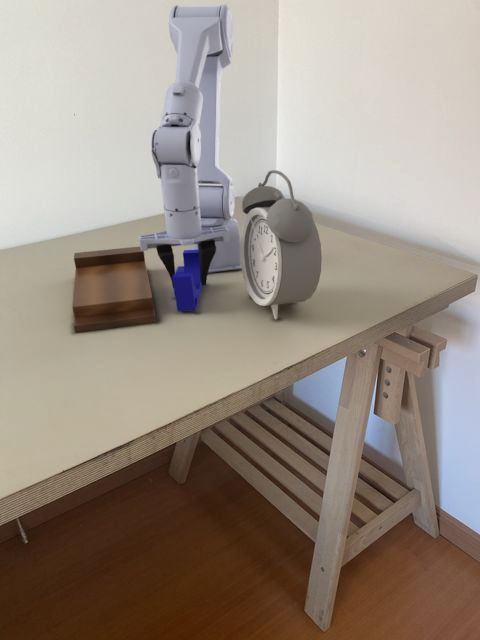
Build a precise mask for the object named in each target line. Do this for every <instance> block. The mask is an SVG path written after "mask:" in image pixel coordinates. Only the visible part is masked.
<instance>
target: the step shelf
mask: <svg viewBox="0 0 480 640" xmlns="http://www.w3.org/2000/svg"><path fill="white" fill-rule="evenodd" d="M73 261H74V267H75V273H74V284H73V294H72V295H73V296H72V314H73V328H74V333H82V332H90V331H97V330H105V329H111V328H112V329H113V328H120V327H128V326H129V327H130V326H135V325H143V324H152V323H157V317H156V312H155V306H154V299H153V293H152V287H151V283H150V279H149V274H148V269H147V264H146V259H145V251H141V247H140V246H131V247H121V248H110V249H100V250H90V251H89V250H88V251H80V252H74V254H73Z"/></svg>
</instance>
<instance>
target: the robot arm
mask: <svg viewBox="0 0 480 640" xmlns="http://www.w3.org/2000/svg"><path fill="white" fill-rule="evenodd" d="M168 32H169V38H170V39H171V42H172V44H173V47H174V50H175V52H176V54H177V55H176V69H175V82H173V83H171V84H170V85H169V86H168V87H167V89H166V92H165V97H164V103H163V110H162V113H161V114H162V115H161V120H160V126H158V128H157V129H155V130H154V131H153V132H152V135H151V143H150V145H151V150H150V151H151V156H152V160H153V163H154V165H155V169H156V176H157V178H158V179H159V180H160V186H161V195H162V204H163V212H164V213H163V214H164V221H165V230H163V231H158V232H154V233H150V234H143V235H139V236H138V239H139V247H141V251H144V252H145V251H148V250H150V249H151V250H152V249H156V252H157V256H158V258H159V259H160V261H161V262H162V264H163V265H164V268H165V270H166V272H167V273H168V275H169V277H170V281H171V285H172V289H173V290H174V286H173V279H172V277H173V275H174V274H176V266H175V254H174V251H173V250H174V249H173V247H178V246H179V247H180V246H182V247H183V246H190V247H189V248H190V250H198V251H199V260H200V281H201V284H202V286H203V287H205V286H207V280H208V275H209V273H217V272H225V271H235V270H242V267H241V258H240V239H241V233H240V228H239V227H240V226H239V223H238V220H237V219H236V218H233V216H234V213H235V206H236V205H235V202H236V201H235V199H236V198H235V192H234V181H233V179H232V177H231V176H230V174H228V173H227V172H225V170H223V169H222V168H221V167H220V128H221V127H220V126H221V85H222V78H223V71H224V69H225V68H226V67H228V66H230V65H231V64H232V58H233V53H234V52H233V51H234V22H233V14H232V10H231V8H230V7H229V5H228V4H226V3H223V4H219V5H218V4H217V5H216V4H215V5H177V4H174V5H172V6H171V9H170V10H169V13H168ZM207 184H208V185H207Z"/></svg>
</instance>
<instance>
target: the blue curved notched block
mask: <svg viewBox="0 0 480 640" xmlns="http://www.w3.org/2000/svg"><path fill="white" fill-rule="evenodd" d="M182 256H183V257H182V258H183V265H180V266H177V268H176V269H175V274H174V275H173V277H172V279H173V286H174V289H173V294H174V298H175V304H176V310H177V312H192V311H197V308H198V304H199V302H200V298H201V295H202V291H203V288H204V286H202V284H201V281H200V260H199V251H198V250H191V249H184V250H183V252H182ZM173 286H172V287H173Z"/></svg>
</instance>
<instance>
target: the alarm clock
mask: <svg viewBox="0 0 480 640" xmlns="http://www.w3.org/2000/svg"><path fill="white" fill-rule="evenodd" d="M271 174H277V175H279V176H280V177H282V178H283V179H284V180H285V182H286V184H287V187H288V191H289V196H290V198H285V196H284V194H283V192H282V190H280V189H279V188H276V187H274V186H270V185H267V183H268V181H269V178H270V176H271ZM241 208H242V212H243V213H244V214H245V217H244V220H243V223H242V227H241V231H240V258H241V267H242V268H241V273H242V277H243V281H244V285H245V288H246V290H247V292H248V294H249V296H250V298H251V299H252V300H253V302H254V303H256V304H257V305H259V306H261V307H267V306H270V307H271V311H272V315H273V319H274V320H278V315H279V313H278V311H279V305H285V304H293V303H294V304H295V303H301V302H302V303H303V302H306V301H308V300H310V299H311V298H312V296H313V295H314V294H315V292H316V291H317V289H318V286H319V283H320V278H321V275H322V273H321V272H322V259H323V257H322V243H321V239H320V234H319V230H318V228H317V225H316V223H315V220H314V216H313V213H312V212H311V209H309V207H308V205H306V204H305V203H303V202H302V201H300V200H298V199H295V196H294V190H293V186H292V182H291V180H290V179H289V178H288V176H287V175H286V174H285V173H283V172H282V171H280V170H276V169H275V170H274V169H273V170H272V169H271V170H269V171H268V172H267V174H266V175H265V179H264V181H263V182H259V183H258V185H257V187H254V188H253V189H251V190H249V191H248V192H247V193H246V194H245V195H244V197H243V199H242V202H241Z"/></svg>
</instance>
